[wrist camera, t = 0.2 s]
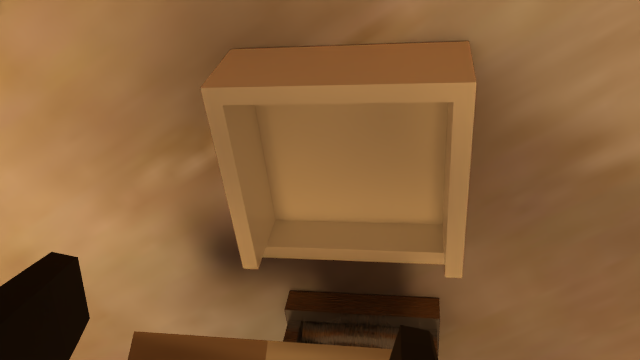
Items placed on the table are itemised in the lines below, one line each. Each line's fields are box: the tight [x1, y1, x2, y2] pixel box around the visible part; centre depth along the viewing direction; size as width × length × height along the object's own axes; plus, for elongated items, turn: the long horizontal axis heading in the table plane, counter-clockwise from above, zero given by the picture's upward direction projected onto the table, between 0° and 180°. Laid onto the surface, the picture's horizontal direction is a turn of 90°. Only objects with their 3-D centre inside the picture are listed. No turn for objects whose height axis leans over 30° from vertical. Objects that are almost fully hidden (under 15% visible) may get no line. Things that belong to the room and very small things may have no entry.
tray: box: [200, 41, 477, 278], centre depth 19 cm, size 8×8×3 cm
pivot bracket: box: [283, 291, 440, 357], centre depth 24 cm, size 3×7×4 cm, turn 96°
